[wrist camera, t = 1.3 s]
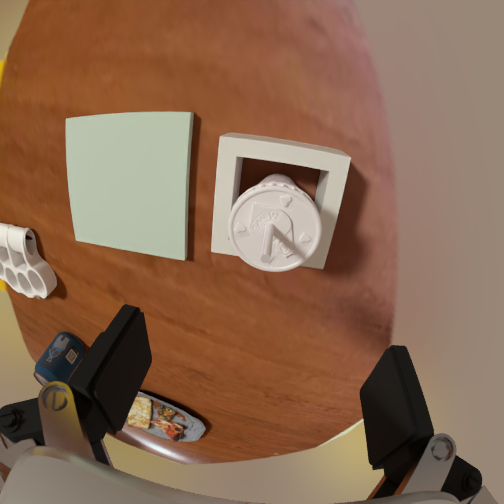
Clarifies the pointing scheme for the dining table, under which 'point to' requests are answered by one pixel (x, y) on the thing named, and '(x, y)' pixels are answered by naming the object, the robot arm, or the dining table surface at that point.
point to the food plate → (163, 420)
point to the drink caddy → (282, 151)
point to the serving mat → (131, 180)
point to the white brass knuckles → (24, 263)
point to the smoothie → (275, 225)
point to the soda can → (59, 359)
